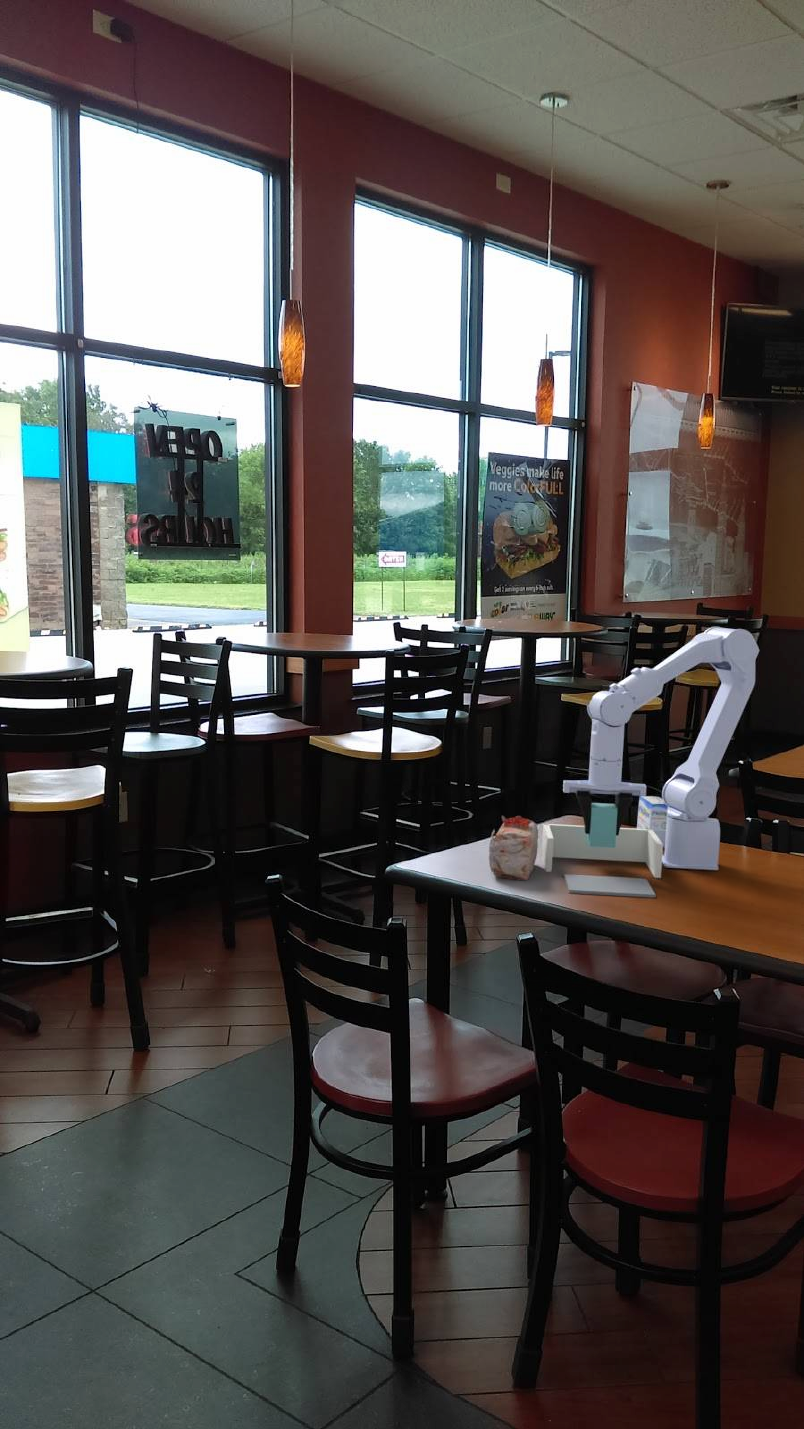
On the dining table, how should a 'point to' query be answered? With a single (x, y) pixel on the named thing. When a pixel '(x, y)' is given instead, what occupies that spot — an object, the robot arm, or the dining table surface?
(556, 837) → the open folding screen
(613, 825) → the teal block
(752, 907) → the dining table surface
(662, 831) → the medicine box
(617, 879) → the slate mat
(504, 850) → the food item
